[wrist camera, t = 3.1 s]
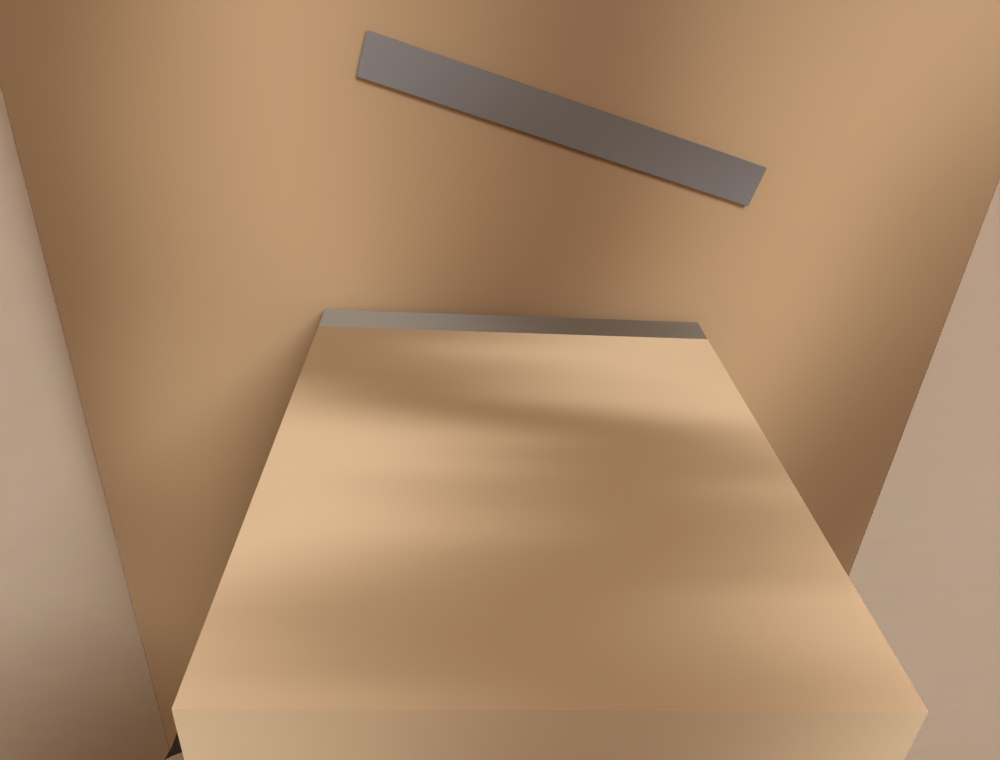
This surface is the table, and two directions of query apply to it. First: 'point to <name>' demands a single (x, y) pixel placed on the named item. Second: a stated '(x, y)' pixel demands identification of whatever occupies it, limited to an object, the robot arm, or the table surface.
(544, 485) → the block
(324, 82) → the board
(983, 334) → the table surface
